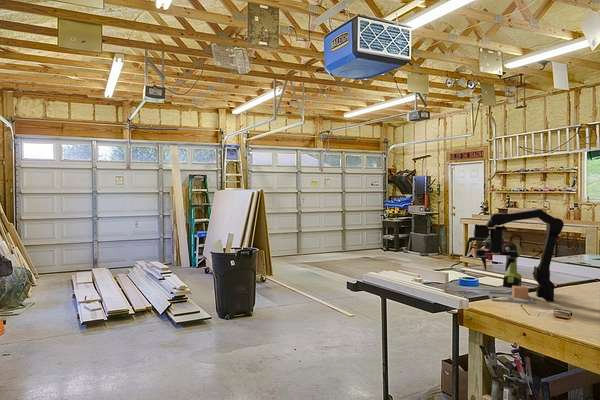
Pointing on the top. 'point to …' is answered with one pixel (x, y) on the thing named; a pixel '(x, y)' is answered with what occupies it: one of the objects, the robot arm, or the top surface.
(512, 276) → the cordless drill
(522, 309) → the top surface
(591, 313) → the top surface
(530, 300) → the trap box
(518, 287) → the block
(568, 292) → the top surface
